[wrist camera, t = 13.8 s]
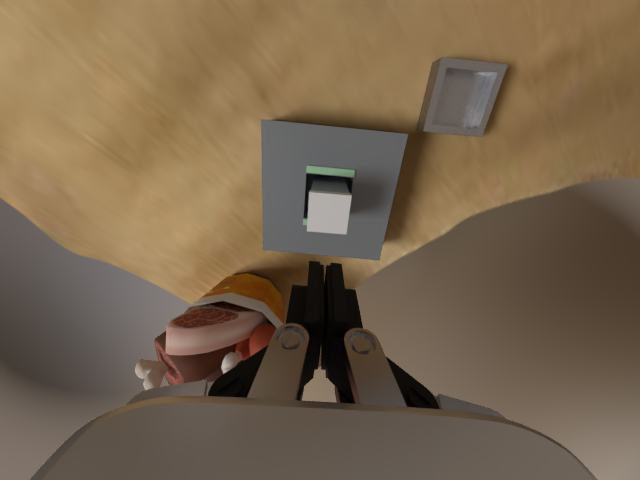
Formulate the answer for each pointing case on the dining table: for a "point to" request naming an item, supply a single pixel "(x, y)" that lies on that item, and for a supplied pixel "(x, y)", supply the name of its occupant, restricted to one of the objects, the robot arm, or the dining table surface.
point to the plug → (328, 205)
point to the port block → (330, 160)
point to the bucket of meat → (216, 332)
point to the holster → (460, 96)
